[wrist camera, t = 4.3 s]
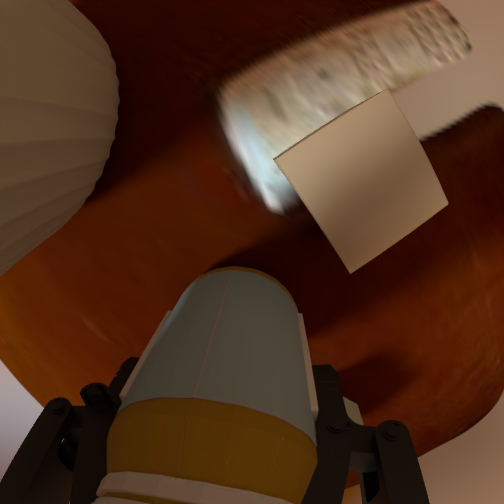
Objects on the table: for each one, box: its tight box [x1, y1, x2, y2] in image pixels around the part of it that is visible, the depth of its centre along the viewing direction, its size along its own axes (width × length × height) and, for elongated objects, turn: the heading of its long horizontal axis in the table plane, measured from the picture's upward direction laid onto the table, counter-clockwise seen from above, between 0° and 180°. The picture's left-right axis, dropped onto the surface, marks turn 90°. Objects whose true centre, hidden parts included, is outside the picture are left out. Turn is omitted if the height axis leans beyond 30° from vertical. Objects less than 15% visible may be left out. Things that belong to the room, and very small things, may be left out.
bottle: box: [91, 266, 318, 504], centre depth 10 cm, size 7×7×15 cm
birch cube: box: [273, 89, 448, 274], centre depth 12 cm, size 5×5×5 cm
